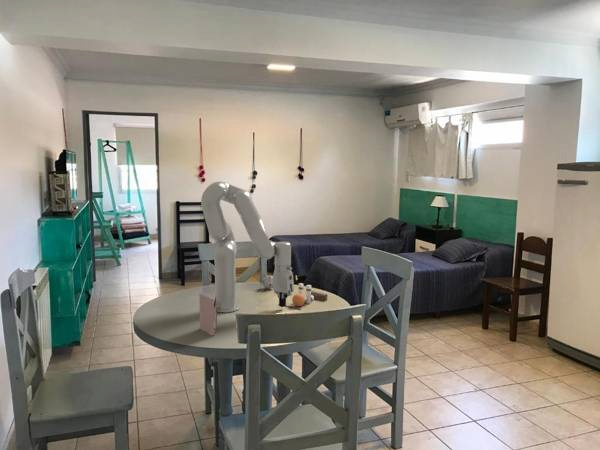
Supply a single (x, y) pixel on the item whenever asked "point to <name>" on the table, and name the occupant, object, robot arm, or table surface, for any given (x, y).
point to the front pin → (311, 298)
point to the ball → (298, 300)
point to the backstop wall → (319, 296)
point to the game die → (268, 282)
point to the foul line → (292, 307)
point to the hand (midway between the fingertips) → (282, 306)
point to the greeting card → (208, 314)
